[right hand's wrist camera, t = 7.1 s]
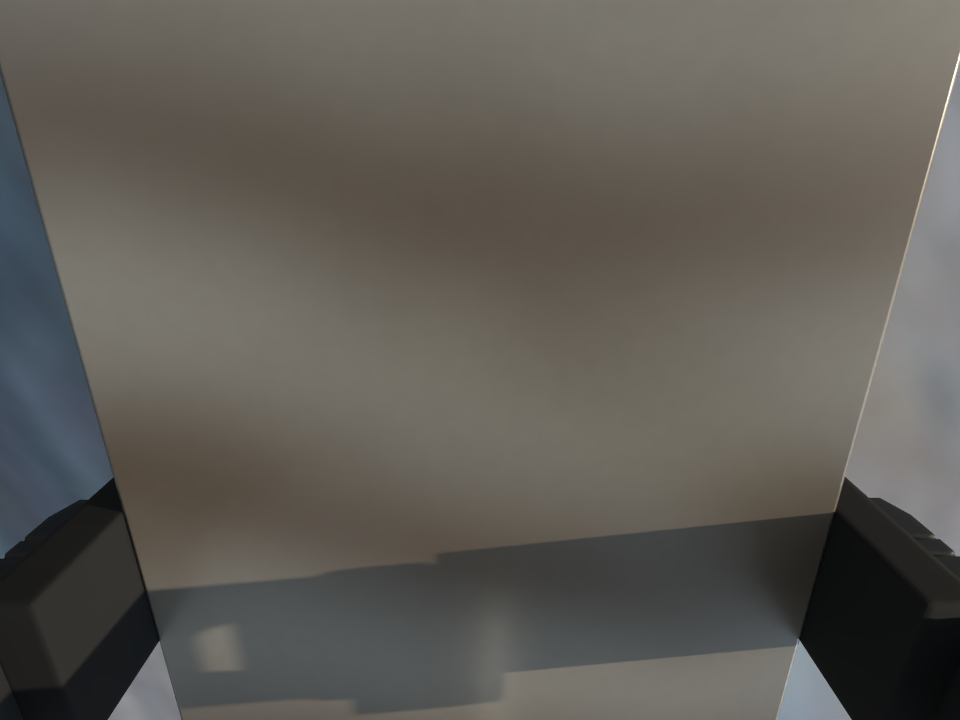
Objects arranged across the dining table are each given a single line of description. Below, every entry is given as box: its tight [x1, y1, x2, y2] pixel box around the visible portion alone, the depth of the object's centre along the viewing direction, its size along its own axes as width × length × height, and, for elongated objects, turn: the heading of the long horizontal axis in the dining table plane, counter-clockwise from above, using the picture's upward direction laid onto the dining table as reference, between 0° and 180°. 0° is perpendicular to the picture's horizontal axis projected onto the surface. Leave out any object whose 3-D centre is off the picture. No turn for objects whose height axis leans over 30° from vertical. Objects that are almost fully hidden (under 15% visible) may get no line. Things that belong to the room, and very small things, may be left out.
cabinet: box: [0, 0, 960, 720], centre depth 11 cm, size 21×11×8 cm, turn 0°
